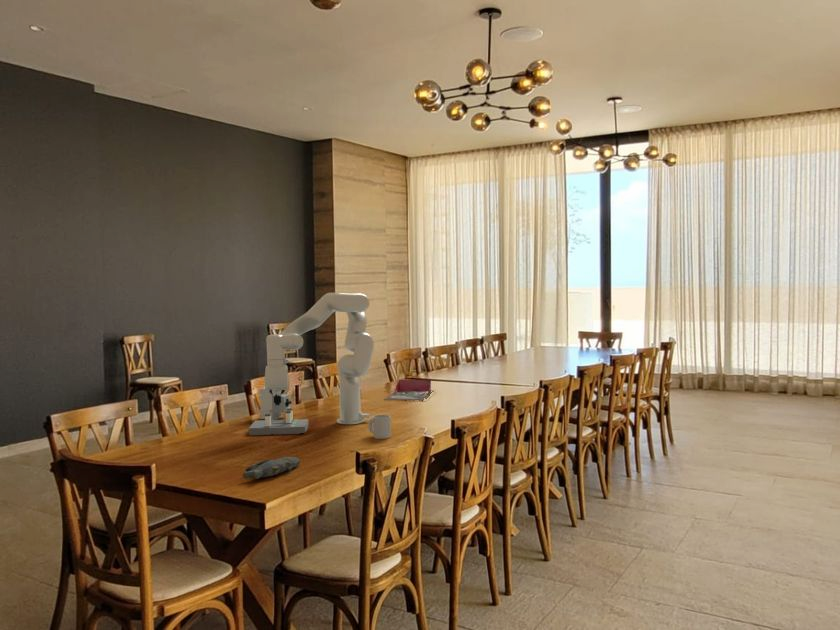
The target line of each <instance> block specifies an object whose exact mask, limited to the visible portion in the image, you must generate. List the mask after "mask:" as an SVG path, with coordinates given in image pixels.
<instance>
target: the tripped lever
mask: <svg viewBox="0 0 840 630" xmlns="http://www.w3.org/2000/svg"><path fill="white" fill-rule="evenodd" d="M267 426H271V413H266V414H265V427H267Z"/></svg>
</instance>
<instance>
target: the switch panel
mask: <svg viewBox="0 0 840 630" xmlns="http://www.w3.org/2000/svg"><path fill="white" fill-rule="evenodd" d="M308 425H309V418H303V419H293V420H291V423H286V419H276V420H271V426H267V427H265V420H262V419H261V420H260V419H258V420H254V422H253V423H251V425H250V426H249V427H248V436H258V435H259V436H264V435H267V436H268V435H271V434H273V435H301V434H300V433H305V432H307V430H308V428H309V426H308ZM305 434H306V433H305Z"/></svg>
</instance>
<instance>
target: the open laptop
mask: <svg viewBox="0 0 840 630" xmlns="http://www.w3.org/2000/svg"><path fill="white" fill-rule="evenodd" d="M431 385H432V380H431V379H398V380H397V384H396V385H395V388H394V390H393V392H392V393H391V394H389V395H388V396H386V398H384V399H383V401H384V400H402V401H401V402H408V401H407V400H413V401H412V402H415V401H414V400H419V401H418V402H421V401H420V400H424V398H425V399H427V398H428V397H429V396H430V394H431V393H432V392H434V391H435V390H432V388H431V387H432V386H431ZM431 391H432V392H431ZM403 400H404V401H403Z"/></svg>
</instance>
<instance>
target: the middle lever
mask: <svg viewBox="0 0 840 630" xmlns="http://www.w3.org/2000/svg"><path fill="white" fill-rule="evenodd" d="M284 413H285V420H286V423H291V410H286V411H285V412H284Z"/></svg>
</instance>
